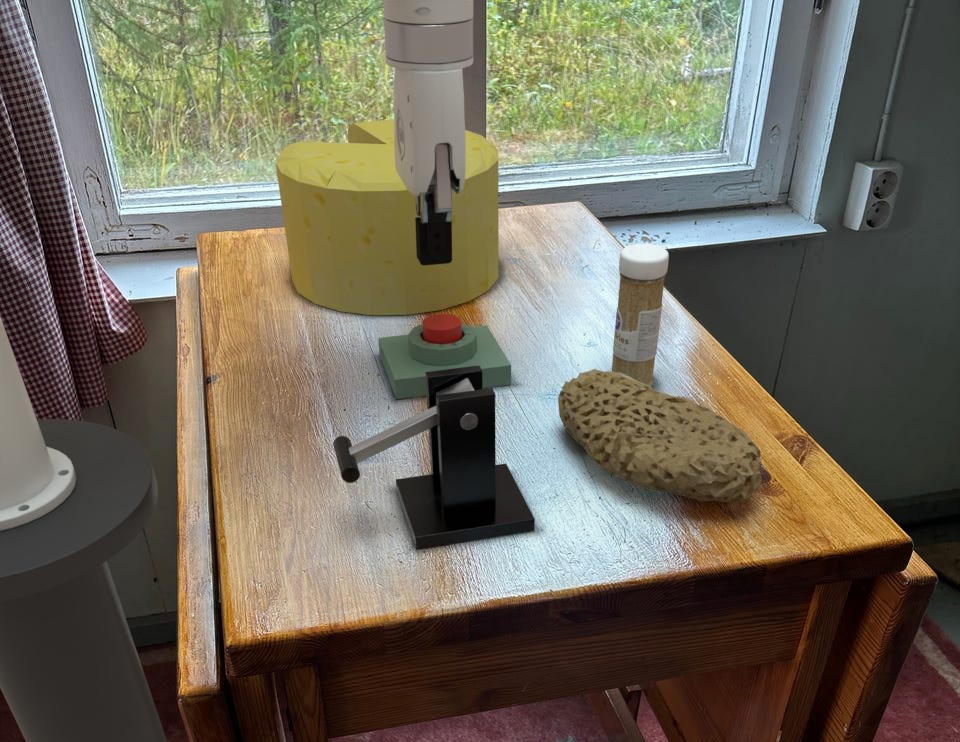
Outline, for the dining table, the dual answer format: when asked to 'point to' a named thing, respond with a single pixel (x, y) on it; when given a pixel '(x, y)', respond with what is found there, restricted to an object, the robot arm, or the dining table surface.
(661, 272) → the sprinkles bottle
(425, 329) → the button
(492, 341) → the button box
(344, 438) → the lever
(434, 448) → the bracket
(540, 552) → the dining table surface
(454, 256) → the cheese
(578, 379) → the sponge
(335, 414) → the dining table surface
